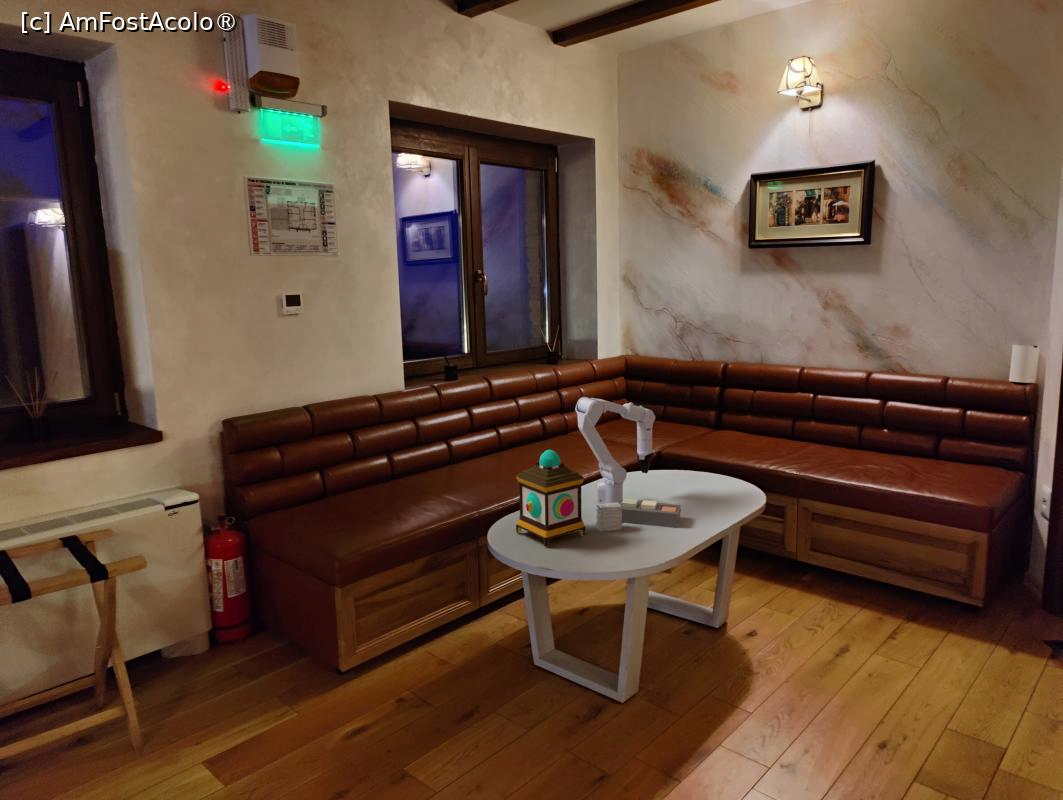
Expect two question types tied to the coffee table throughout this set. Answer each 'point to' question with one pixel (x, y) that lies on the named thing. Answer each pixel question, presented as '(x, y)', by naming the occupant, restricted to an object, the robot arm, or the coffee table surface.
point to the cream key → (649, 505)
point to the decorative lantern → (550, 499)
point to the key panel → (652, 515)
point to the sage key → (630, 503)
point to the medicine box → (609, 516)
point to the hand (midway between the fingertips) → (645, 472)
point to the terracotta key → (669, 509)
